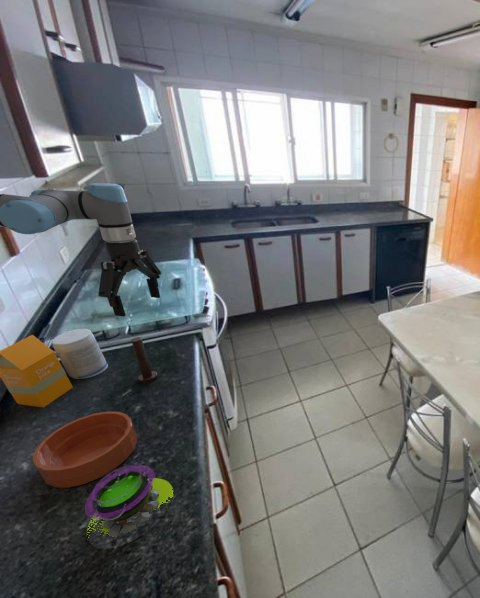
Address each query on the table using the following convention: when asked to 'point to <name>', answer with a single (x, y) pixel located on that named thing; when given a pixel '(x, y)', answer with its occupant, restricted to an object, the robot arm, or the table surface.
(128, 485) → the toy cauldron
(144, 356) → the wooden masher
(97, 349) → the supplement tub
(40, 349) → the orange juice
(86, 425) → the bowl
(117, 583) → the table surface
